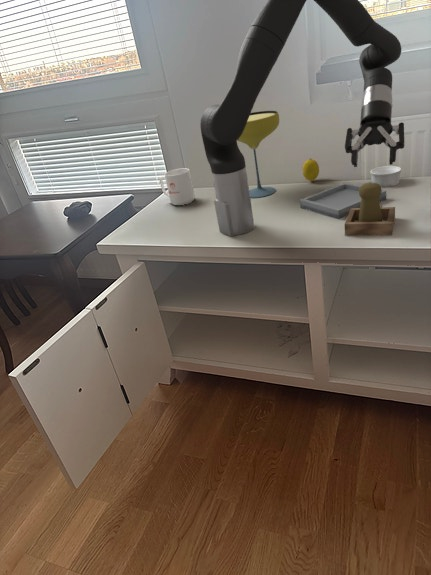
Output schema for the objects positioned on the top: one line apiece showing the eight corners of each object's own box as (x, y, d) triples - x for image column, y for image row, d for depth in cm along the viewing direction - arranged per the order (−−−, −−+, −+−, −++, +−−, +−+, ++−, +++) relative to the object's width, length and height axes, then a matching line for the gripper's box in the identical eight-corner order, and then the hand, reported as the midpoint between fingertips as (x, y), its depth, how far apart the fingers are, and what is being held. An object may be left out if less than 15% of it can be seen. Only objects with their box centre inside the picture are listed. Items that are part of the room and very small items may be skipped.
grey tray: (338, 219, 116) (338, 210, 115) (300, 207, 129) (299, 199, 128) (386, 199, 123) (386, 190, 122) (345, 190, 136) (344, 182, 135)
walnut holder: (344, 235, 107) (344, 224, 105) (351, 218, 115) (350, 208, 114) (391, 235, 102) (392, 223, 101) (394, 217, 111) (395, 206, 109)
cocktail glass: (273, 202, 138) (263, 120, 126) (225, 201, 147) (211, 125, 136) (294, 183, 151) (287, 108, 139) (248, 184, 160) (238, 113, 148)
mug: (199, 197, 157) (193, 167, 152) (188, 206, 150) (181, 175, 145) (171, 198, 162) (164, 169, 157) (159, 207, 155) (152, 177, 150)
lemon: (318, 178, 152) (317, 155, 148) (320, 182, 147) (319, 159, 143) (302, 180, 153) (301, 157, 149) (304, 185, 148) (302, 161, 144)
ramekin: (374, 179, 140) (374, 165, 138) (403, 178, 136) (403, 165, 134) (367, 188, 134) (367, 174, 132) (397, 188, 130) (397, 173, 127)
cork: (366, 233, 106) (365, 190, 100) (353, 226, 111) (351, 184, 106) (388, 227, 107) (388, 183, 101) (374, 220, 112) (374, 178, 107)
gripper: (346, 102, 112) (342, 159, 109) (406, 95, 107) (403, 154, 103) (349, 120, 119) (345, 173, 116) (406, 113, 113) (403, 169, 110)
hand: (372, 164), depth 109 cm, fingers open, 8 cm apart
